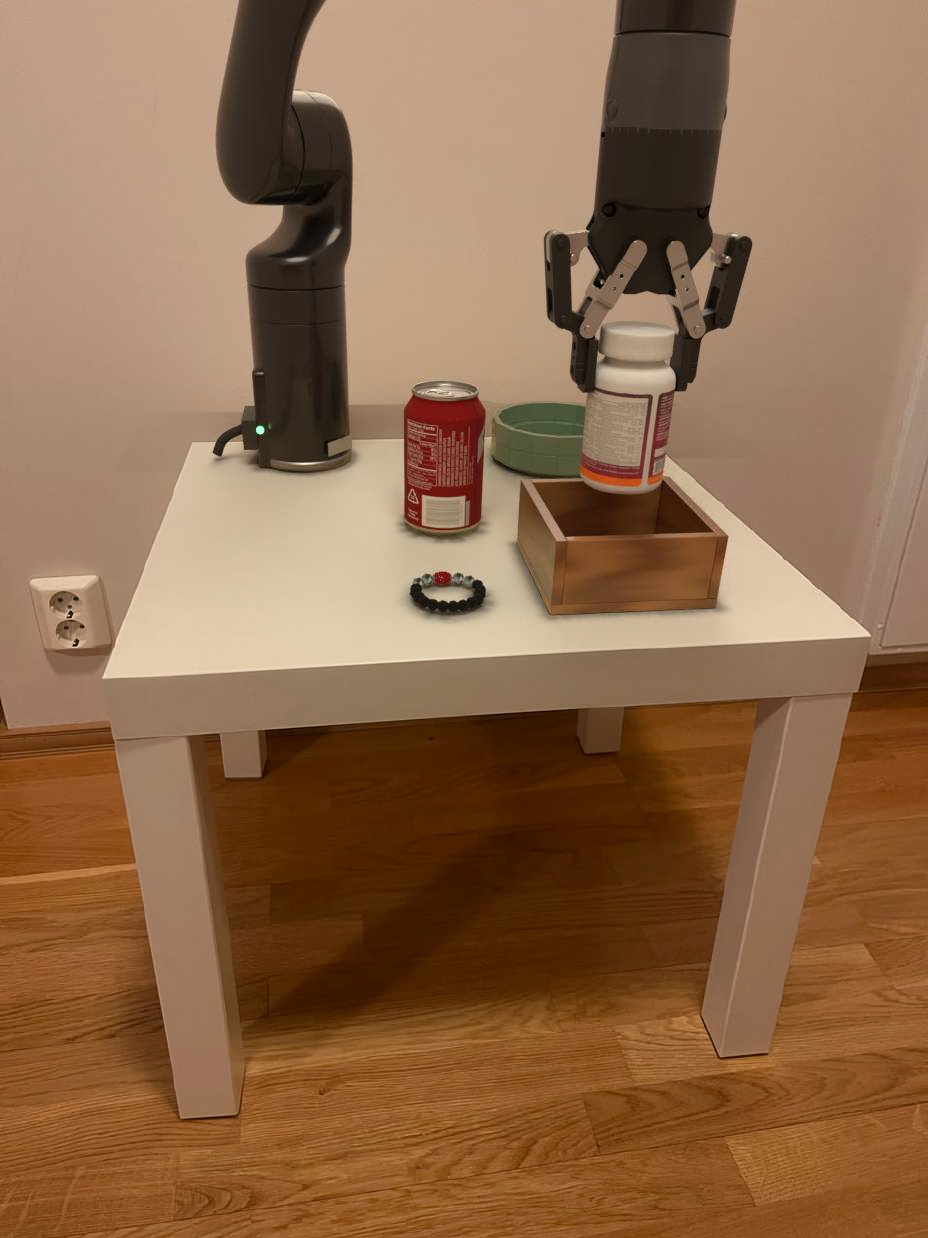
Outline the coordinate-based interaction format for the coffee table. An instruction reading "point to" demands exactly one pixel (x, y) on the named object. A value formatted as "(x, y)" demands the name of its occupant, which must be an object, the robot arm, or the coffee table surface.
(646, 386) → the pill bottle
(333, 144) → the robot arm
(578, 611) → the holder
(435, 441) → the soda can
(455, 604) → the bracelet
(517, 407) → the bowl
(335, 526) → the coffee table surface
